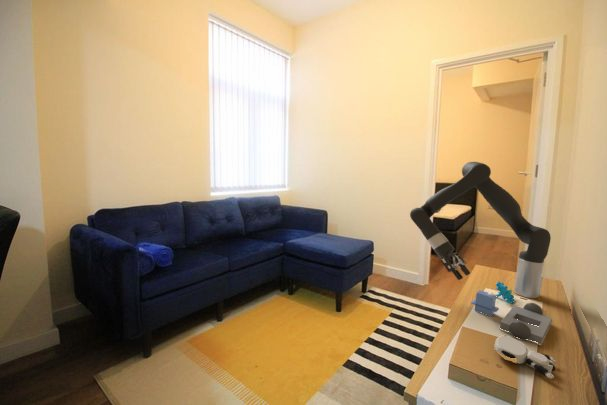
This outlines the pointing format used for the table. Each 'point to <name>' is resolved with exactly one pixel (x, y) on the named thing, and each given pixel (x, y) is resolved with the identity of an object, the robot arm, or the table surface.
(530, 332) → the chassis
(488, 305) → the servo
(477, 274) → the table surface
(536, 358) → the robot toy
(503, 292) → the gear
